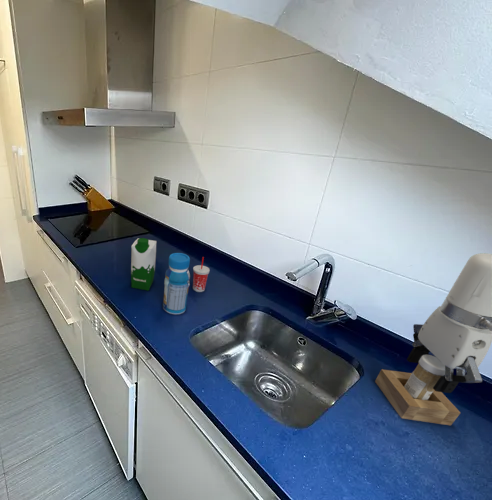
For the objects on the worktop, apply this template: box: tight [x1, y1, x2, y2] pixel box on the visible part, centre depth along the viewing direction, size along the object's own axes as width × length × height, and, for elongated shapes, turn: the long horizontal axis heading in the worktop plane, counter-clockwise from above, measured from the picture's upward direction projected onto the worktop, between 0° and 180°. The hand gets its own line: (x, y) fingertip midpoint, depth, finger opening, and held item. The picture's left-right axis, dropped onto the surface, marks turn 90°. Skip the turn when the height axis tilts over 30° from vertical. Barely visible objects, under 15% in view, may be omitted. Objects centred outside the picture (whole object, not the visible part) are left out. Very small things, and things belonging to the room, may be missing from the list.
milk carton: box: [130, 237, 157, 292], centre depth 109 cm, size 9×9×20 cm
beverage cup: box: [192, 256, 211, 293], centre depth 108 cm, size 6×6×14 cm
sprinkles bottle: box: [404, 354, 445, 400], centre depth 66 cm, size 5×5×14 cm
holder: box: [374, 368, 461, 426], centre depth 68 cm, size 10×10×4 cm
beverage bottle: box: [162, 252, 191, 315], centre depth 95 cm, size 8×8×20 cm
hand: (427, 375), depth 65 cm, fingers open, 7 cm apart
